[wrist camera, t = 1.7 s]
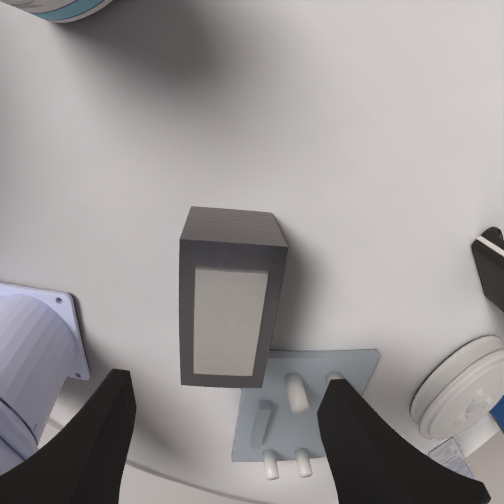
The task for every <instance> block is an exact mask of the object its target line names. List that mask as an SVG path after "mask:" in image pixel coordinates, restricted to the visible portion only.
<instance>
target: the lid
mask: <svg viewBox="0 0 504 504" xmlns="http://www.w3.org/2000/svg"><path fill="white" fill-rule="evenodd" d="M503 395H504V344H503V341H502V340H501V339H500V338H499V337H497V336H485V337H482V338H479V339H476V340H475V341H473V342H471V343H469V344H467V345H466V346H464V347H462V348H461V349H460V350H458V351H457V352H455V353H454V354H453V355H452V356H450V357H449V358H448V359H447V360H446V361H445V362H444V363H442V364H441V365H440V366H439V367H438V368H437V369H436V370H435V371H434V372H433V373H432V374H431V376H430V377H429V378H428V379H427V380H426V381H425V383H424V384H423V385H422V387H421V388H420V390H419V391H418V393H417V394H416V396H415V398H414V400H413V402H412V405H411V412H410V413H411V417H412V419H413V420H414V421H415V422H416V423H418V424H419V432H420V434H421V436H422V437H424V438H426V439H446V438H449V437H452V436H454V435H457V434H459V433H461V432H462V431H464V430H466V429H468V428H469V427H471V426H472V425H474V424H475V423H476V422H478V421H479V420H480V419H481V418H482V417H484V416H485V415H486V414H487V413H488V412H489V411H490V410H491V409H492V408H493V407H494V406H495V405H496V404H497V403H498V401H499V400H500V399H501V398H502V396H503Z"/></svg>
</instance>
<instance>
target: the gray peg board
mask: <svg viewBox="0 0 504 504" xmlns="http://www.w3.org/2000/svg"><path fill="white" fill-rule="evenodd" d="M379 357H380V354H379V352H378V351H377V349H367V350H340V351H269V356H268V361H267V366H266V371H265V376H264V380H263V385H262V388H242V393H241V399H240V406H239V412H238V418H237V424H236V431H235V437H234V443H233V449H232V455H231V457H232V462H262V461H264V468H265V475H266V479H267V480H275V479H278V478H279V473H278V467H277V461H284V460H297V465H298V470H299V474H300V477H309V476H311V475H312V474H313V473H312V469H311V465H310V461H309V458H319V457H327V456H326V453H325V449H324V446H323V443H322V440H321V436H320V431H319V425H318V418H317V411H318V409H319V406H320V404H321V402H322V399H323V397H324V394H325V392H326V390H327V387H328V385H329V382H330V380H331V379H346V380H347V381H348V382H349V383H350V384H351V385H352V386H353V388H354V389H355V390H356V391H357V392H358V393H359V394H360V395H362V393H363V391H364V389H365V387H366V385H367V383H368V381H369V379H370V377H371V375H372V373H373V371H374V368H375V366H376V364H377V362H378V360H379Z"/></svg>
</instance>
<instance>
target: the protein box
mask: <svg viewBox="0 0 504 504" xmlns="http://www.w3.org/2000/svg"><path fill="white" fill-rule="evenodd" d="M490 413H491V414H492V416H493V418H494V420H495V421H496V423H497V424H498V426H499V428H500V429H501V431H502V432H503V434H504V395H503V396H502V398H501V399H500V400H499V401H498V403H497V404H496V405H495V406H494V407H493V408H492V409H491V410H490Z"/></svg>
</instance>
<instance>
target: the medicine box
mask: <svg viewBox="0 0 504 504" xmlns="http://www.w3.org/2000/svg"><path fill="white" fill-rule="evenodd" d="M429 456H430V458H431V459H433V460H434V461H436V462H437V463H439V464H441V465H443V466H445V467H446V468H448V469H450V470H452V471H455V472H457V473H459V474H461V475H463V476H466V477H469V478H471V479H474V480H475V475H474V473H473V471H472V470H471V468H470V466H469V464H468V462H467V461H466V459H465V457H464V455H463V454H462V452H461V450H460V448H459V447H458V445H457V444H456V442H455V440H454V439H453V438H451V439H449V440H447V441H446V442H444V443H443V444H441V445H440V446H438V447H437V448H435V449H434V450H432V451H430V452H429Z"/></svg>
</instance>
